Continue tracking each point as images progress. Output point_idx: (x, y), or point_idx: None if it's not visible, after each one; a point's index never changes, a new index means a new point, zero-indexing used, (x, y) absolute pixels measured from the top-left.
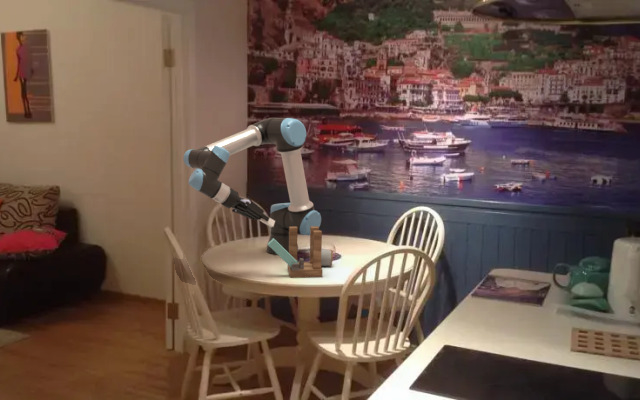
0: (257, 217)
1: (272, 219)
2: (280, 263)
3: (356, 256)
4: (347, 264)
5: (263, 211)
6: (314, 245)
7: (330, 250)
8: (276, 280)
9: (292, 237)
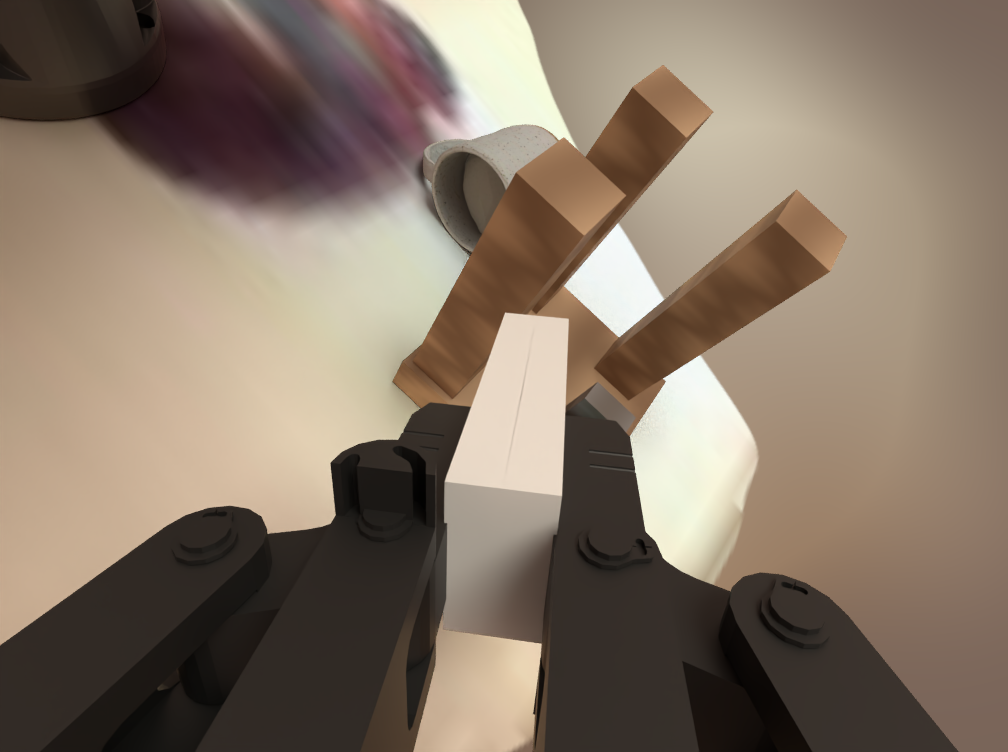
0: (433, 647)
1: (566, 341)
2: (250, 296)
3: (482, 23)
4: None
5: (823, 633)
6: (738, 328)
7: (555, 140)
8: (536, 648)
9: (549, 281)
